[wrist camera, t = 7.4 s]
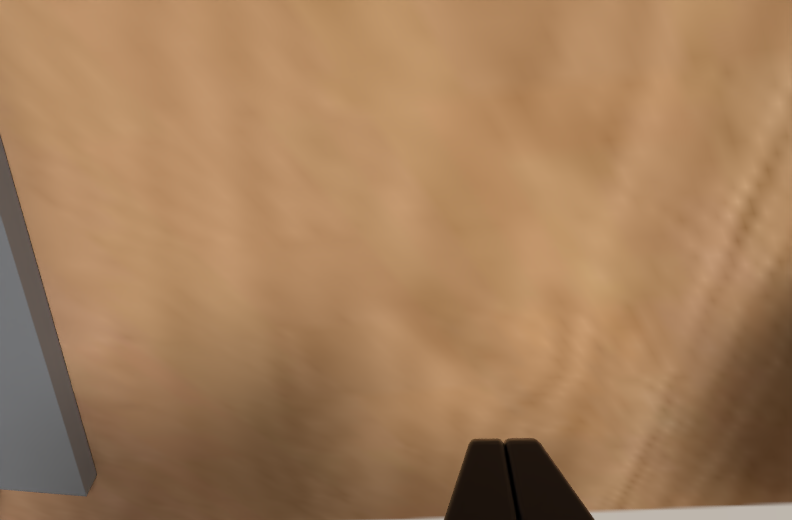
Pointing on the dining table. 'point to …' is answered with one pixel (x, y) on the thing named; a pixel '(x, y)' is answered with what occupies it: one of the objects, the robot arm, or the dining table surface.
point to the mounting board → (33, 372)
